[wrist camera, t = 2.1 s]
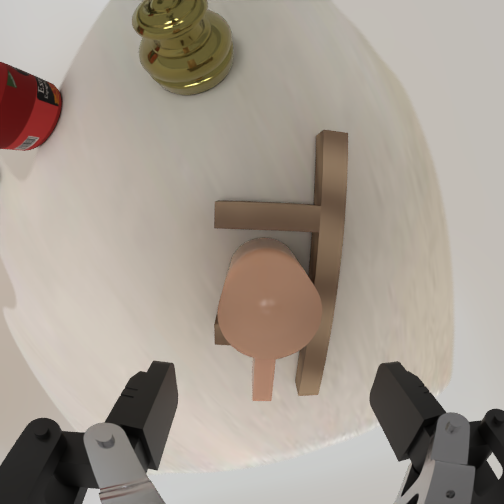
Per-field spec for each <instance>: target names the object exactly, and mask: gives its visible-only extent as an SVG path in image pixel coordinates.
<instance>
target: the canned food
mask: <svg viewBox="0 0 504 504" xmlns="http://www.w3.org/2000/svg"><path fill="white" fill-rule="evenodd" d="M61 105H62V103H61V95H60V92H59V90H58V89H57V88H56V87H55V86H54V85H53V84H51V83H49V82H47V81H45V80H43V79H40V78H38V77H36V76H34V75H31V74H29V73H27V72H24V71H22V70H20V69H17V68H14V67H12V66H10V65H8V64H5V63H2V62H0V149H12V150H24V151H25V150H31V149H34V148H36V147H38V146H40V145H41V144H42V143H43V142H45V141H46V139H47V138H48V137H49V136H50V134H51V133H52V131H53V130H54V128H55V126H56V124H57V121H58V118H59V115H60V111H61Z"/></svg>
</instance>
